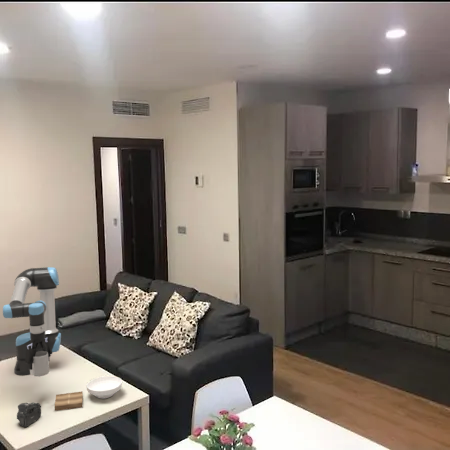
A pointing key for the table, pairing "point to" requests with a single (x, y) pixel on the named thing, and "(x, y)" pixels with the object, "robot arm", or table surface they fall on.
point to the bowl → (104, 386)
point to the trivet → (68, 401)
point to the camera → (28, 413)
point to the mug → (41, 363)
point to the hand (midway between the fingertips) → (39, 371)
